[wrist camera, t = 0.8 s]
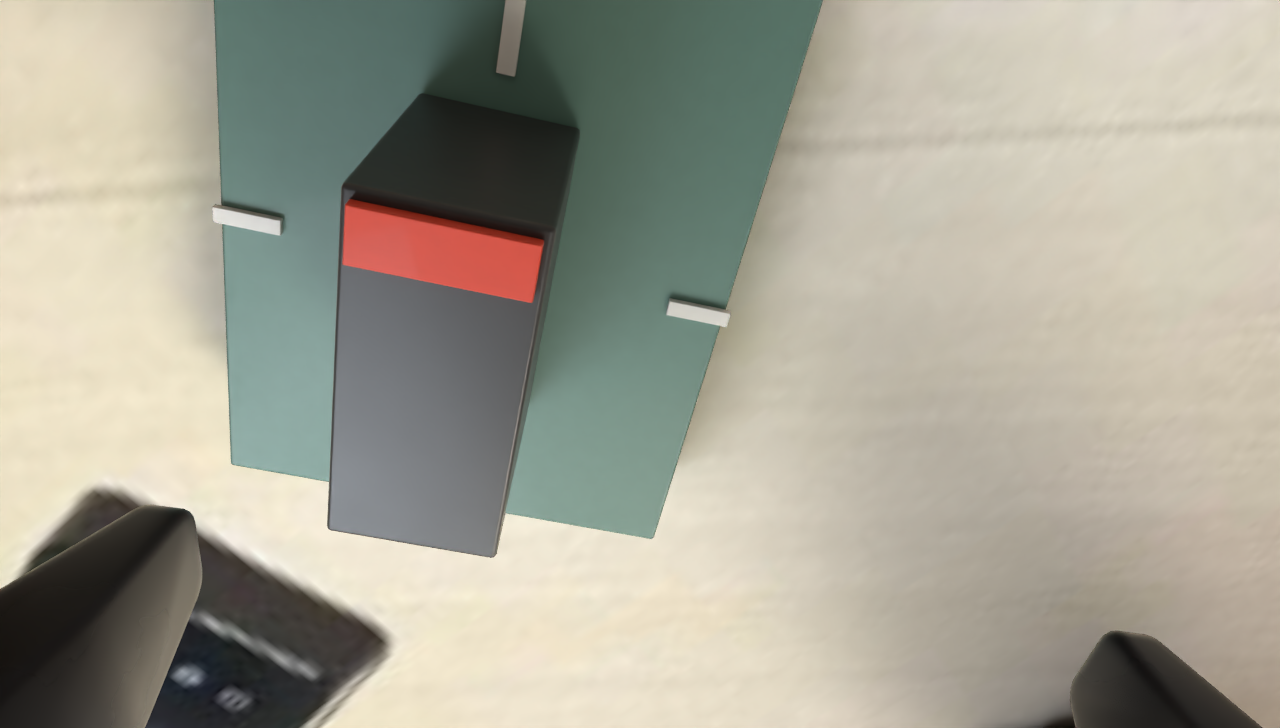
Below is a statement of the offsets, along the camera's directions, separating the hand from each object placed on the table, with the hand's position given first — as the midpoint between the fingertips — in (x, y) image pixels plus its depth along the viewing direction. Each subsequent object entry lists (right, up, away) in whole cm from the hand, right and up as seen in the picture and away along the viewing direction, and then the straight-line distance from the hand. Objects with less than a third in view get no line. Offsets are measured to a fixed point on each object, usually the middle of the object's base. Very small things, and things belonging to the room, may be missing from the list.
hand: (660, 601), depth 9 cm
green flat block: (-4, +6, +12) cm, 14 cm away
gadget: (-4, +4, +10) cm, 12 cm away
